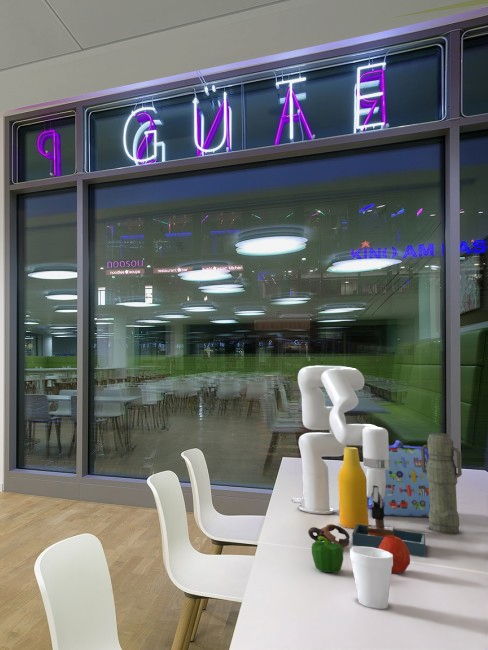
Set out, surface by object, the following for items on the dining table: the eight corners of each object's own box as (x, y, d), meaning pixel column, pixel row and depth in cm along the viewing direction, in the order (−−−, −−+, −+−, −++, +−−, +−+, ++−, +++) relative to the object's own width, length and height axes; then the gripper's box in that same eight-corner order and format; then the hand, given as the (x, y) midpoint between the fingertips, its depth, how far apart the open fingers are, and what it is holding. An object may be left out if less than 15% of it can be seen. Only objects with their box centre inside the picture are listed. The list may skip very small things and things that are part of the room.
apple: (417, 577, 173) (415, 539, 173) (385, 575, 174) (384, 538, 175) (402, 567, 181) (401, 531, 181) (372, 565, 182) (371, 529, 183)
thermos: (463, 536, 211) (458, 436, 214) (422, 529, 220) (418, 433, 222) (466, 531, 218) (462, 434, 220) (427, 524, 226) (422, 431, 228)
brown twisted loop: (339, 544, 204) (348, 526, 201) (345, 564, 196) (355, 546, 193) (302, 532, 207) (310, 515, 203) (306, 552, 199) (316, 534, 195)
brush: (368, 538, 204) (363, 501, 205) (370, 534, 208) (365, 498, 209) (393, 541, 199) (388, 502, 201) (394, 537, 203) (390, 499, 205)
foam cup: (353, 593, 161) (351, 544, 162) (394, 601, 156) (392, 550, 157) (350, 605, 153) (348, 553, 154) (394, 614, 148) (392, 560, 149)
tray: (352, 545, 202) (352, 532, 202) (357, 535, 213) (356, 523, 213) (424, 556, 190) (424, 544, 190) (425, 546, 201) (425, 533, 201)
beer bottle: (336, 522, 229) (333, 445, 231) (362, 523, 227) (359, 446, 229) (345, 529, 220) (342, 449, 222) (373, 530, 218) (369, 450, 220)
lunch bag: (421, 509, 248) (418, 439, 250) (440, 518, 234) (437, 444, 236) (364, 507, 252) (361, 438, 253) (379, 515, 238) (376, 442, 240)
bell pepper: (338, 566, 181) (337, 533, 182) (348, 576, 173) (346, 541, 174) (307, 564, 183) (306, 531, 184) (316, 574, 175) (315, 539, 176)
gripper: (365, 459, 214) (367, 511, 213) (360, 466, 201) (362, 521, 200) (391, 461, 210) (393, 514, 209) (387, 468, 197) (389, 525, 196)
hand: (378, 517), depth 204 cm, fingers closed on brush, 2 cm apart
